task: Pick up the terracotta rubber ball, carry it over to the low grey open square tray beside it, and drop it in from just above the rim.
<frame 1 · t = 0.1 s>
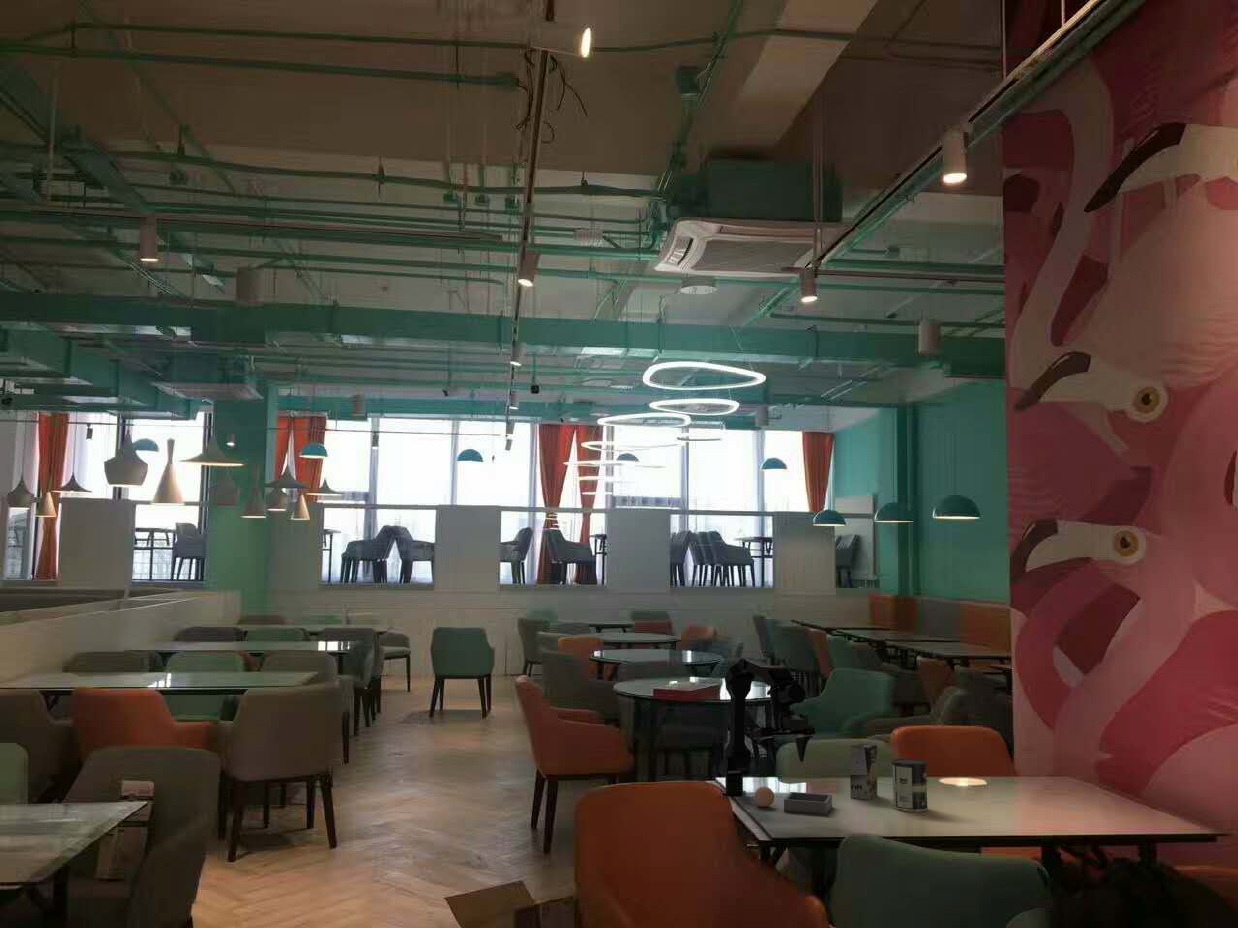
hand: (788, 762, 297), 15 cm above the table, tool pointing down, fingers open, 9 cm apart
ball: (764, 796, 308), point 3 cm above the table
coffee can: (910, 809, 308), on the table
coffee box: (864, 797, 325), on the table
grey open square tray: (808, 808, 305), on the table
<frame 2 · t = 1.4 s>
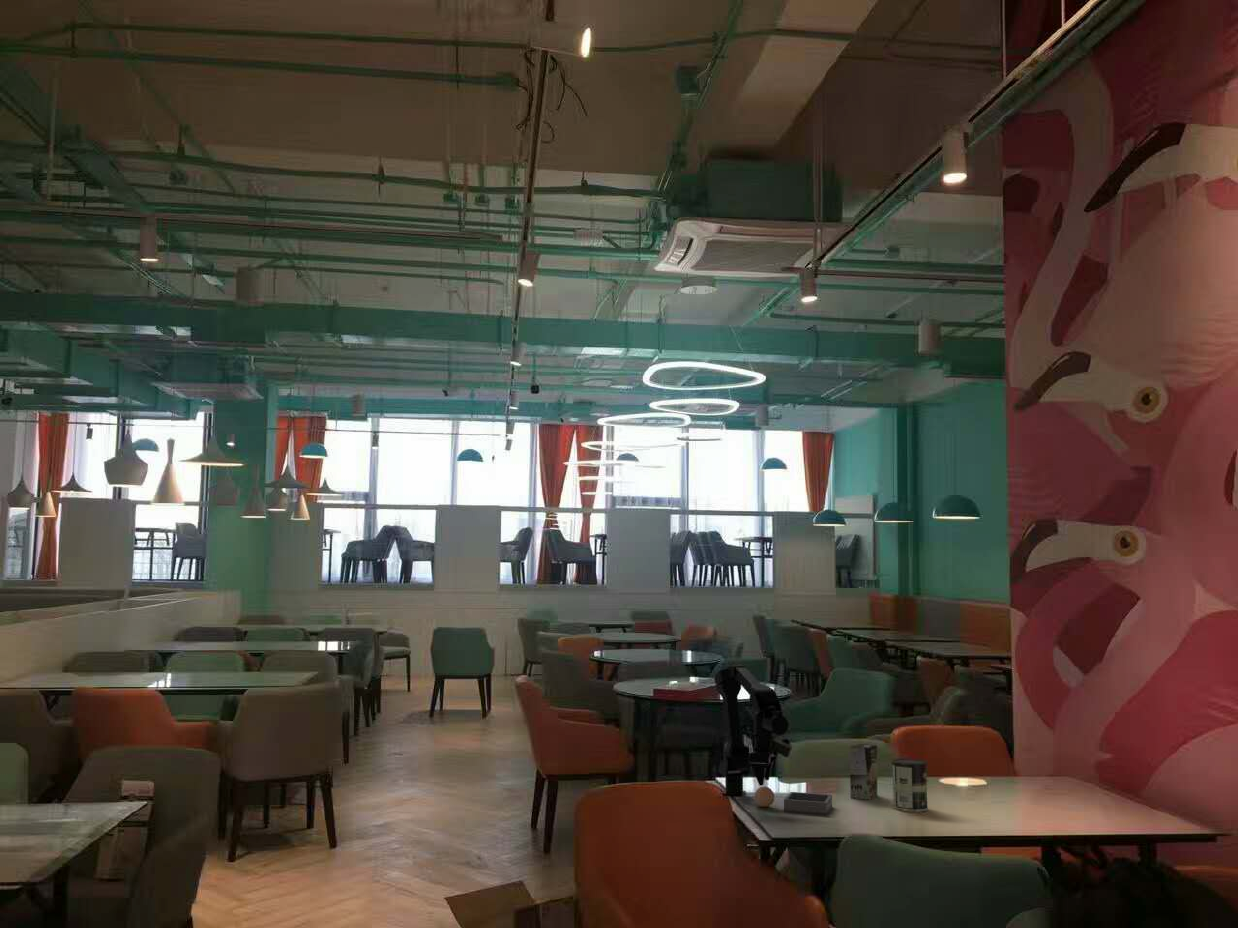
hand: (764, 782, 308), 7 cm above the table, tool pointing down, fingers open, 9 cm apart
nothing on the table moved.
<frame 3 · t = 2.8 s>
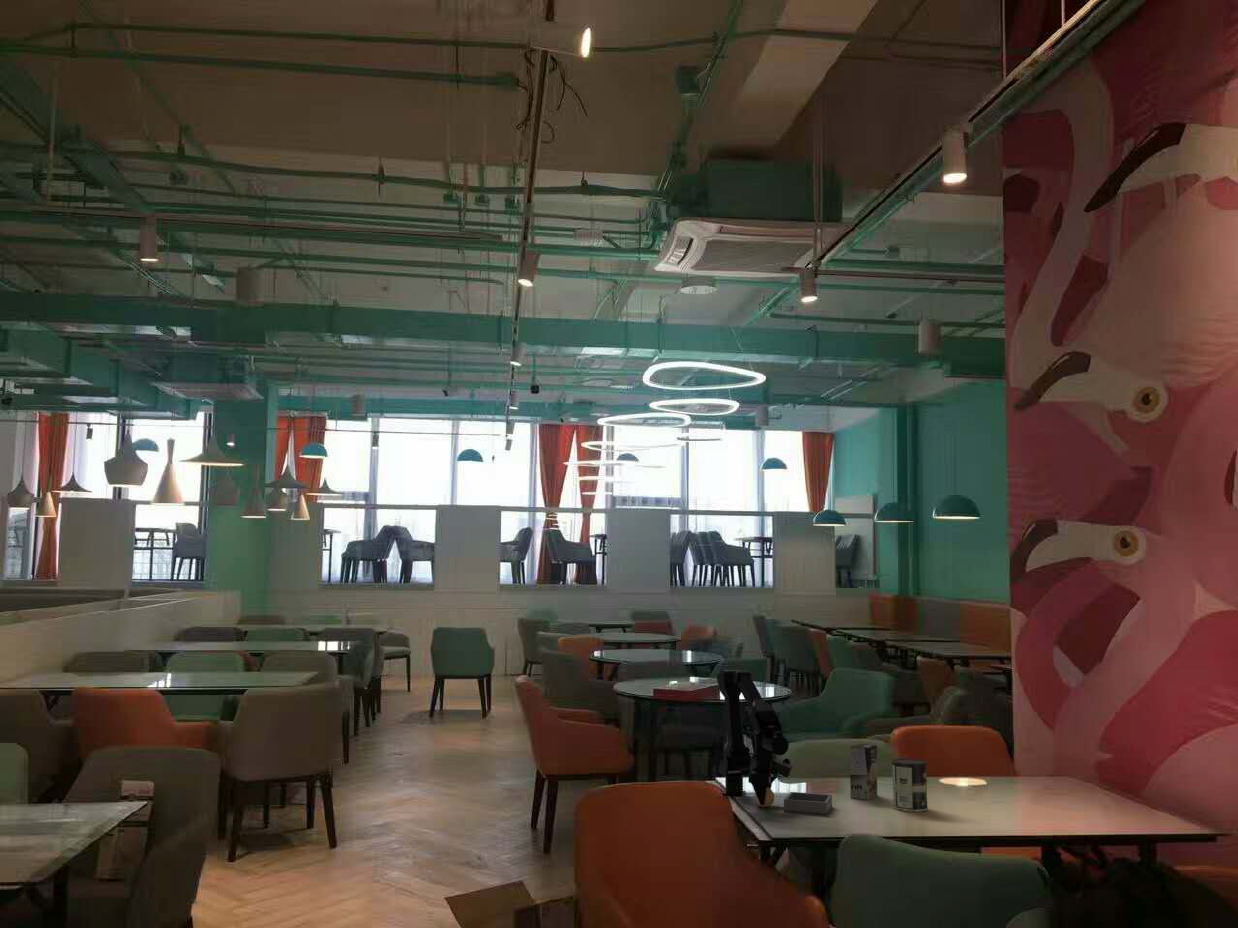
hand: (764, 802, 308), 1 cm above the table, tool pointing down, fingers closed on ball, 6 cm apart
ball: (764, 796, 308), point 3 cm above the table, touching gripper
everything else where it was.
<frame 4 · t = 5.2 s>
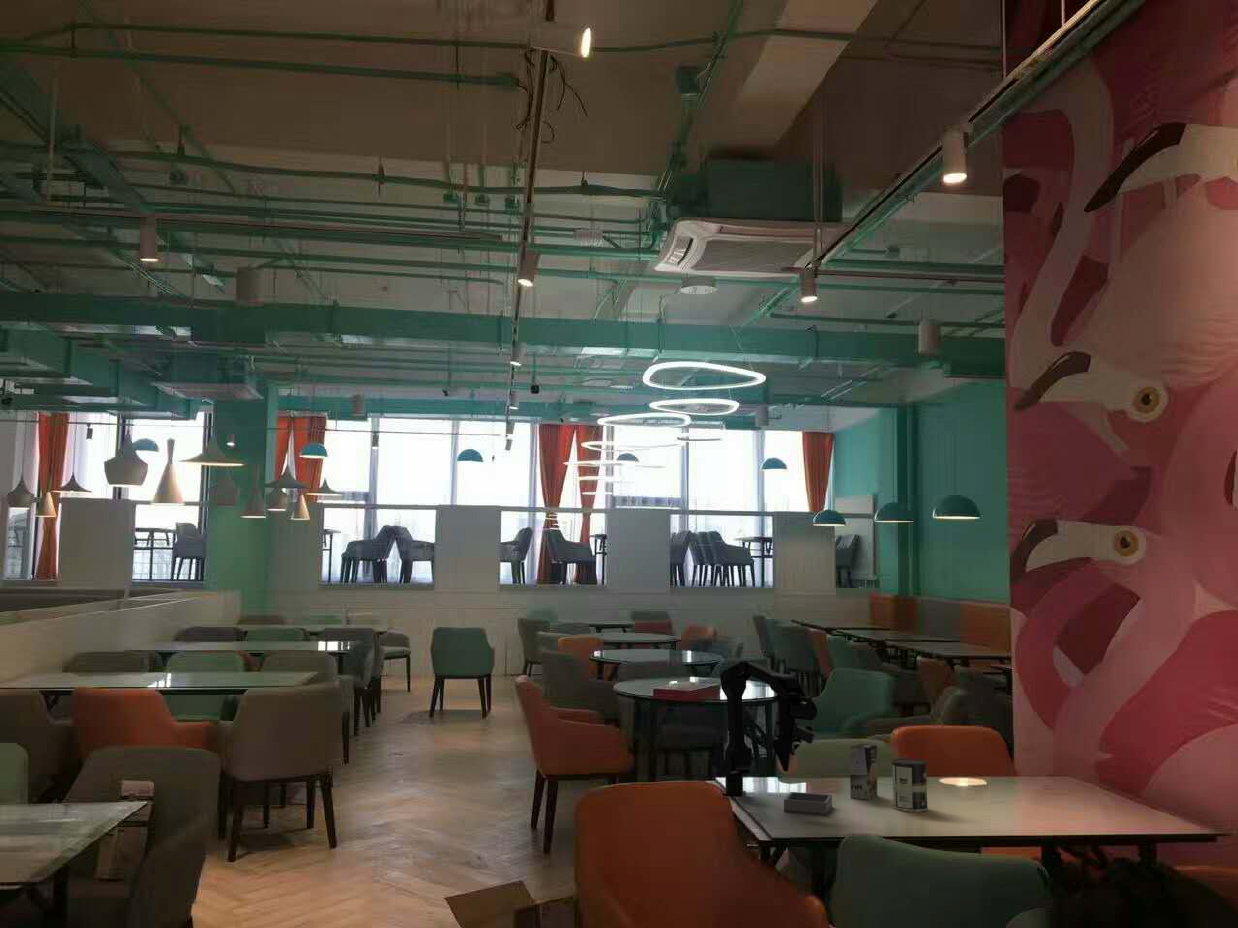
hand: (787, 769, 307), 11 cm above the table, tool pointing down, fingers closed on ball, 6 cm apart
ball: (787, 763, 307), point 13 cm above the table, touching gripper
everything else where it was.
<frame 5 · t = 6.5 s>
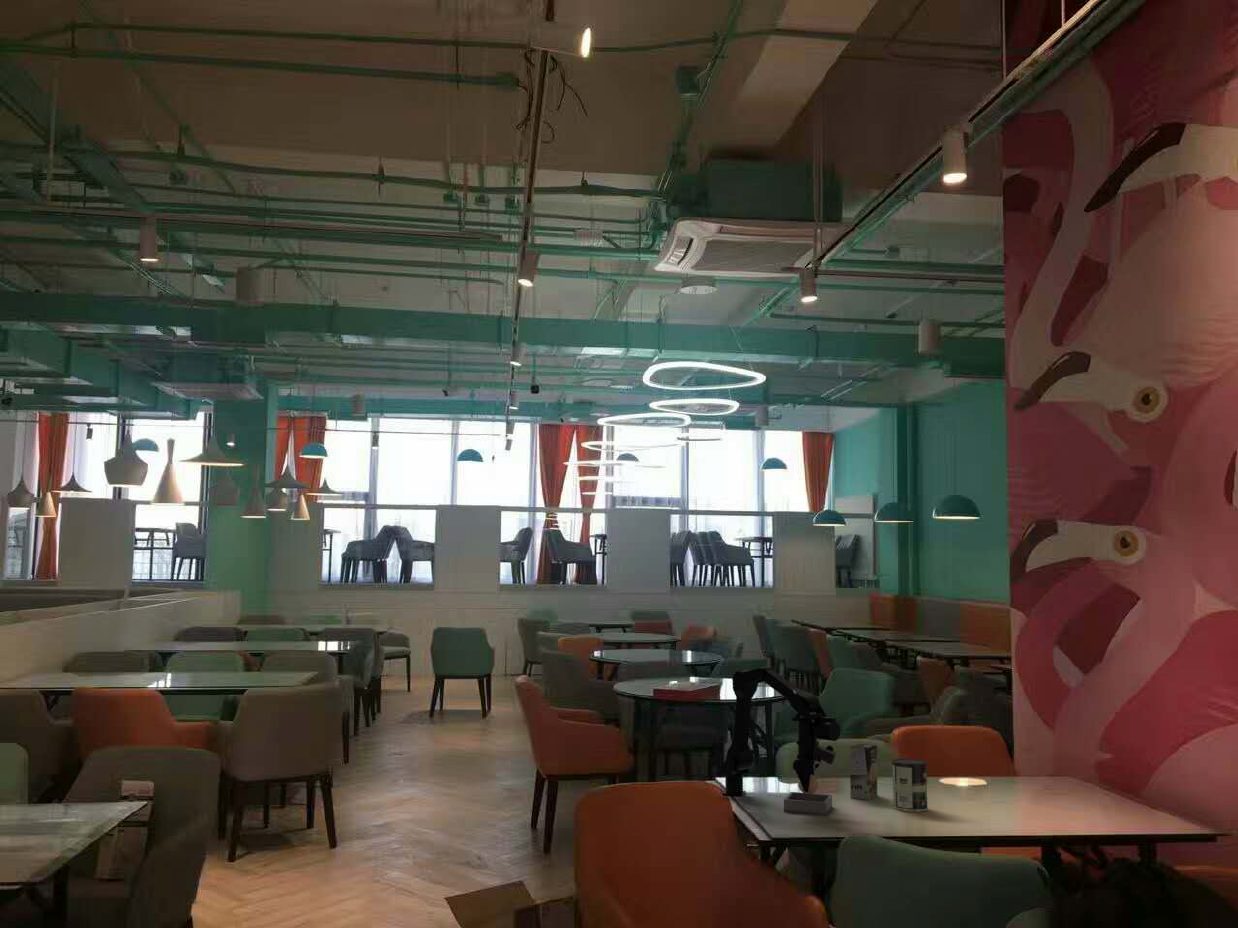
hand: (807, 789, 306), 6 cm above the table, tool pointing down, fingers closed on ball, 6 cm apart
ball: (807, 783, 306), point 7 cm above the table, touching gripper
everything else where it was.
when the fingers open (4 cm above the table, at t = 7.5 s): ball drops 3 cm, resting on grey open square tray.
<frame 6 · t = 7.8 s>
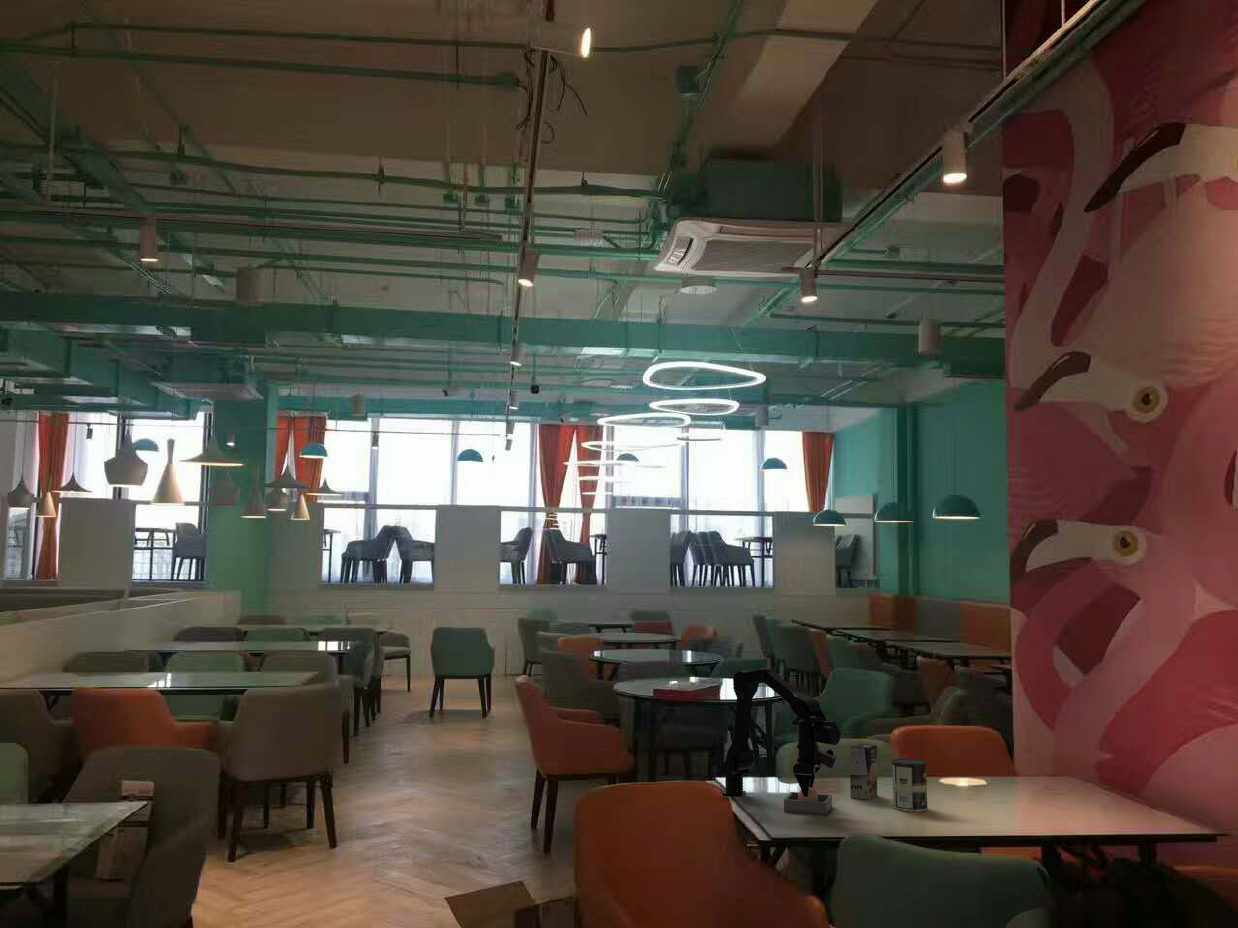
hand: (808, 793, 306), 4 cm above the table, tool pointing down, fingers open, 9 cm apart
ball: (808, 797, 305), point 3 cm above the table, touching grey open square tray
everything else where it was.
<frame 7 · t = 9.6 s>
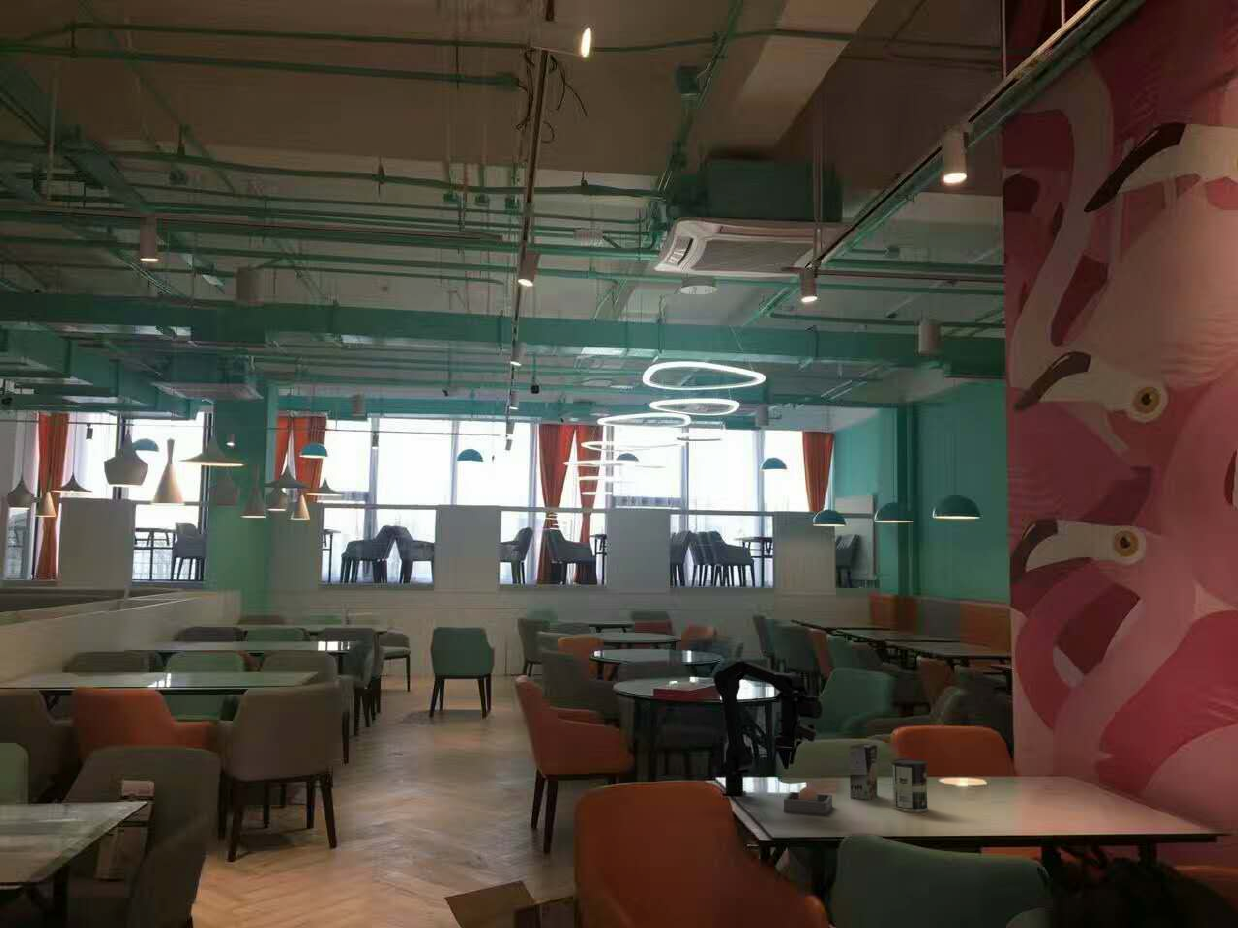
hand: (789, 766, 313), 11 cm above the table, tool pointing down, fingers open, 9 cm apart
nothing on the table moved.
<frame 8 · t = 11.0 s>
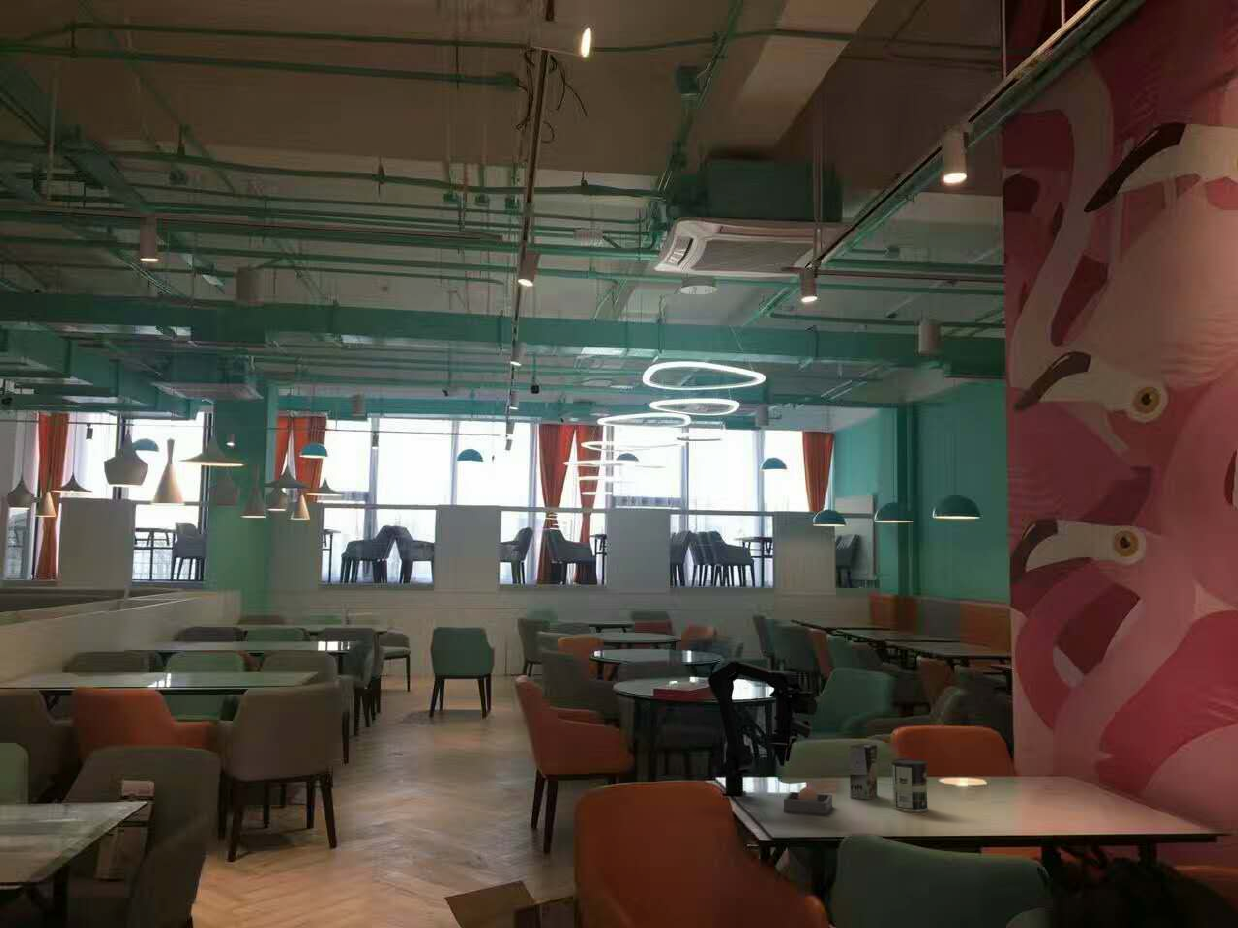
hand: (785, 763, 315), 12 cm above the table, tool pointing down, fingers open, 9 cm apart
nothing on the table moved.
at the end: ball 0.1 cm off-centre on the grey open square tray, point 3.5 cm above the grey open square tray's base; the gripper is holding nothing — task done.
